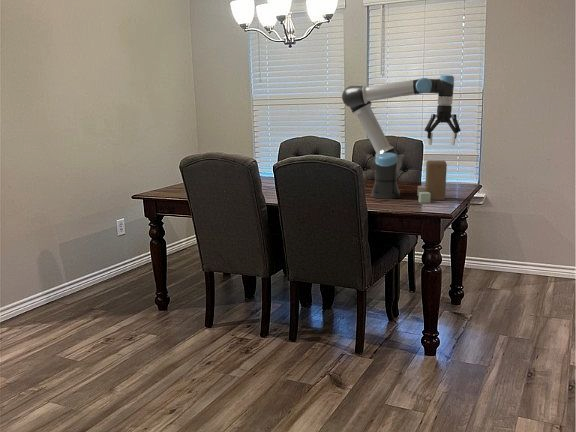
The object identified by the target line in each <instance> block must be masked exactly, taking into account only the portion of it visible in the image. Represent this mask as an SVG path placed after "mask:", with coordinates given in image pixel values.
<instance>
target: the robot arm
mask: <svg viewBox="0 0 576 432" xmlns="http://www.w3.org/2000/svg"><path fill="white" fill-rule="evenodd" d="M454 86H455V77H454V76H453V75H443V74H442V75H440V76H439V78H428V77H421V78H418V79H417V78H416V79H409V80H405V81H397V82H392V83H384V84H378V85H370V86H365V85H350V86H347V87H346V88H345V89H344V90H343V92H342V94H341V100H342V102H343V103H344V105H345V106H346V107H348V108H350V110H351V113H352V115H356V116H357V118H358V119H359V122H360V123H361V125H362V128H363V129H364V132H365V134H366V135H367V137H368V139H369V142H370V144H371V145H372V147H373V149H374V152H375V156H374V157H375V159H374V162H375V166H374V167H375V168H374V171H375V172H374V173H375V174H374V178H375V179H374V184H373V188H372V190H371V197H372V198H375V199H382V200H385V199H387V200H390V199H398V198H400V197H401V196H400V193H401V192H400V189H399V187H398V183H397V182H398V181H397V179H398V172H399V171H400V170H401V169H402V166H403V159H402V157H401V156H400V155H399V154H398V153H397V151H396V149H395V147H394V146H391V145H390V143H389V141H388V139H387V137H386V134H385V133H384V132H383V130H382V127H381V125H380V123H379V121H378V119H377V118H376V115H375V113H374V111H373V110H372V107H371V106H372V104H373V103H372V101H379V100H386V99H393V98H399V97H406V96H408V97H409V96H413V95H421V94H438V97H437V107H436V108H437V109H436V114H435V113H431V115H430V119H429V120H428V122H427V125H426V126H425V128H424V132H427V139H428V141H427V142H428V143H427V145H428V146H429V145H430V146H433V135H434V132H433V131H434V130H435V129H436V127H438V125H439V124H440V123H441V124H442V123H446V124H447V125H448V126H449V128H450V129H451V131H452V132H451V138H450V139H451V141H450V146H455V144H456V139H457V137H458V136H457V135H458V133H459V132H461V128H460V125H459V122H458V120H457V114H454V113H453V114H452V110H453V96H454ZM435 119H436V120H435ZM451 119H452V120H451Z"/></svg>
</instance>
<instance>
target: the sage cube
mask: <svg viewBox="0 0 576 432" xmlns="http://www.w3.org/2000/svg"><path fill="white" fill-rule="evenodd" d="M430 199H431V193H429V192H419V196H418V202H419V203H420V204H431V200H430Z"/></svg>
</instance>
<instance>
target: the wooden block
mask: <svg viewBox="0 0 576 432" xmlns="http://www.w3.org/2000/svg"><path fill="white" fill-rule="evenodd" d="M425 164H426V165H425V185H424V186H425V192H429V193H431V199H430V201H445V200H446V186H447V165H448V164H447V162H446V161H445V160H426V163H425Z"/></svg>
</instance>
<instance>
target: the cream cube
mask: <svg viewBox="0 0 576 432" xmlns="http://www.w3.org/2000/svg"><path fill="white" fill-rule="evenodd" d="M416 191H417V193H416V194H417V195H416V196H417V197H419V192H425V185H417V190H416Z"/></svg>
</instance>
